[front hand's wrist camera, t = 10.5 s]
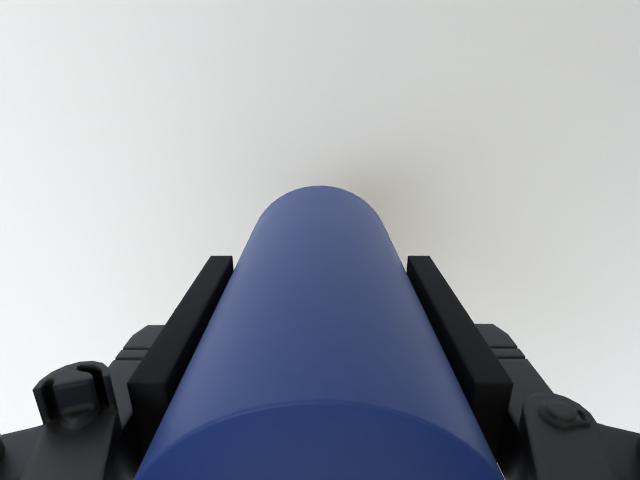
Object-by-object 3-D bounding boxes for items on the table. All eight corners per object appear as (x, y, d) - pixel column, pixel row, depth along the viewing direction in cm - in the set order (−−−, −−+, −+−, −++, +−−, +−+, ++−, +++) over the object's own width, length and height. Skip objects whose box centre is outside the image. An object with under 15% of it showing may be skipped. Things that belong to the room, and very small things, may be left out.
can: (228, 212, 17) (33, 470, 5) (365, 165, 16) (475, 344, 5) (280, 328, 19) (219, 695, 8) (404, 290, 18) (549, 632, 7)
